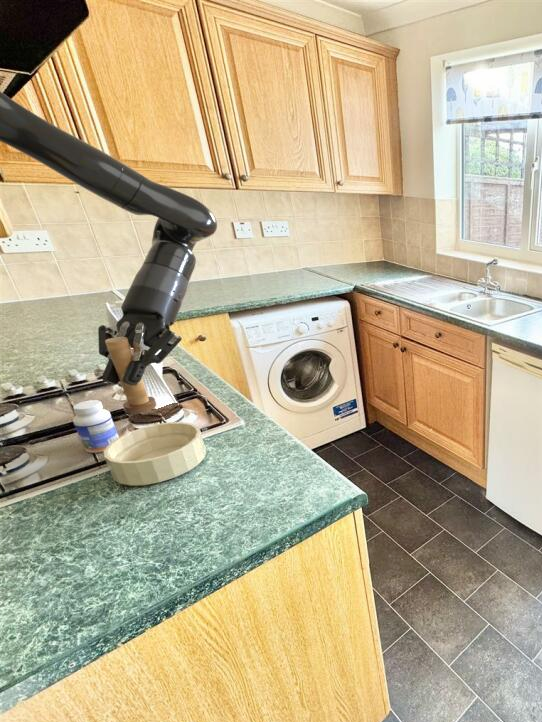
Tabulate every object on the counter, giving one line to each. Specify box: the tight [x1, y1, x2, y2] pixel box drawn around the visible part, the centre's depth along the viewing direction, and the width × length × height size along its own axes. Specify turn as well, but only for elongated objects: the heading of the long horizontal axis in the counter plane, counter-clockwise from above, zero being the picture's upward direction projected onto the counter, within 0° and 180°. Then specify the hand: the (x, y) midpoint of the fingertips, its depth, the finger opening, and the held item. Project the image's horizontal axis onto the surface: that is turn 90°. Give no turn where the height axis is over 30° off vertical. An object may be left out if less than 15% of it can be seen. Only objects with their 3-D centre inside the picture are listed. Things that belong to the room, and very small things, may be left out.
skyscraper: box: [104, 299, 178, 409], centre depth 94 cm, size 8×8×28 cm
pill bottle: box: [72, 399, 120, 454], centre depth 84 cm, size 5×5×10 cm
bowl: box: [103, 421, 207, 486], centre depth 80 cm, size 14×14×6 cm
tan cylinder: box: [105, 337, 157, 415], centre depth 72 cm, size 4×4×13 cm
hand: (119, 382), depth 71 cm, fingers closed on tan cylinder, 3 cm apart
